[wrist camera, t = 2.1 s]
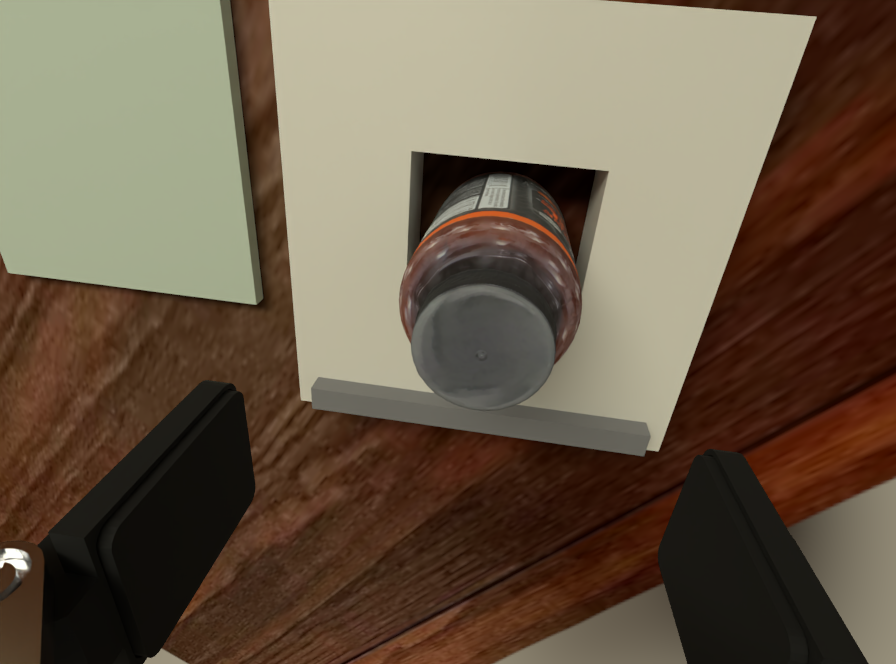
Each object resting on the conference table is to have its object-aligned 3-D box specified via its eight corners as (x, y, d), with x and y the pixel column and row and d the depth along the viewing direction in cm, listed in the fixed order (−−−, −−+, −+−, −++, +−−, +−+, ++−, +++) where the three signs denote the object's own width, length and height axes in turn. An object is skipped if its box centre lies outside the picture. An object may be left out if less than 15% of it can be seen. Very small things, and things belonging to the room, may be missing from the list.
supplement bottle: (584, 262, 24) (627, 407, 14) (470, 309, 26) (438, 465, 16) (533, 142, 21) (542, 211, 12) (413, 202, 23) (333, 307, 14)
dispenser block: (300, -14, 20) (252, -30, 16) (775, 22, 18) (833, 14, 15) (321, 369, 29) (293, 411, 25) (645, 413, 27) (663, 465, 24)
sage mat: (-90, -44, 21) (-111, -48, 20) (227, -20, 20) (217, -23, 19) (21, 267, 28) (8, 272, 27) (263, 298, 27) (256, 304, 26)
